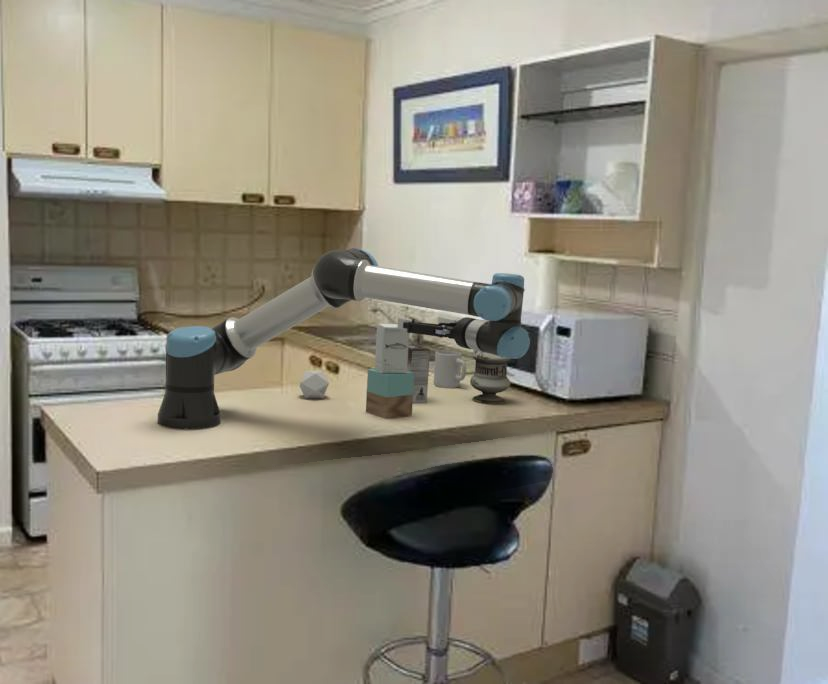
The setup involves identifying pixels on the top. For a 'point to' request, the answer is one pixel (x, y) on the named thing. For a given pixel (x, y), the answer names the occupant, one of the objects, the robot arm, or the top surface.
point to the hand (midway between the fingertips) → (419, 322)
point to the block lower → (389, 405)
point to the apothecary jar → (490, 377)
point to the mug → (448, 369)
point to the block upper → (390, 383)
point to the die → (314, 384)
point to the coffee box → (419, 371)
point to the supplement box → (391, 349)
